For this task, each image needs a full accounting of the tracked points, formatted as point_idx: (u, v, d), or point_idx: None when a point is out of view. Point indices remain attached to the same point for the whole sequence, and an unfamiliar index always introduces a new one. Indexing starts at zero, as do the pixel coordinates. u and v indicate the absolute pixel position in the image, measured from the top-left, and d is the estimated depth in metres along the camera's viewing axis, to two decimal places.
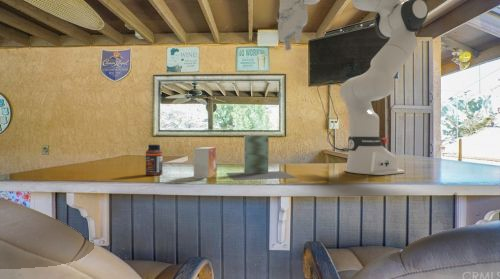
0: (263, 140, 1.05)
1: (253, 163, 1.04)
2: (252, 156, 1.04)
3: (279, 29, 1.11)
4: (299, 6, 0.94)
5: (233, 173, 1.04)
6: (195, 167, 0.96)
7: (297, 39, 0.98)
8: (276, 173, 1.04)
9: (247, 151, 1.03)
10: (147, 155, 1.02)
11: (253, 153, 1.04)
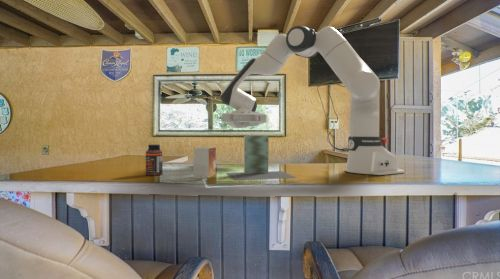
0: (263, 140, 1.05)
1: (253, 163, 1.04)
2: (252, 156, 1.04)
3: (260, 123, 1.28)
4: None
5: (233, 173, 1.04)
6: (195, 167, 0.96)
7: (237, 117, 1.17)
8: (276, 173, 1.04)
9: (247, 151, 1.03)
10: (147, 155, 1.02)
11: (253, 153, 1.04)
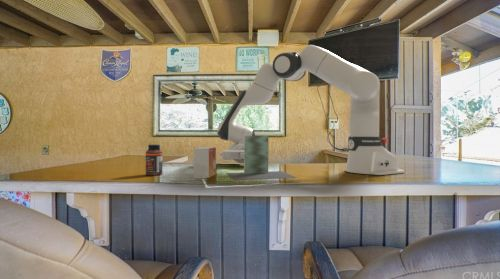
0: (263, 140, 1.05)
1: (253, 163, 1.04)
2: (252, 156, 1.04)
3: None
4: None
5: (233, 173, 1.04)
6: (195, 167, 0.96)
7: None
8: (276, 173, 1.04)
9: (247, 151, 1.03)
10: (147, 155, 1.02)
11: (253, 153, 1.04)
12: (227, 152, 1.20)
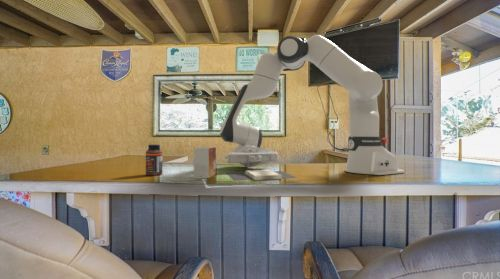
0: None
1: None
2: None
3: None
4: None
5: (233, 173, 1.04)
6: (195, 167, 0.96)
7: (253, 160, 1.04)
8: None
9: None
10: (147, 155, 1.02)
11: None
12: (233, 155, 1.06)
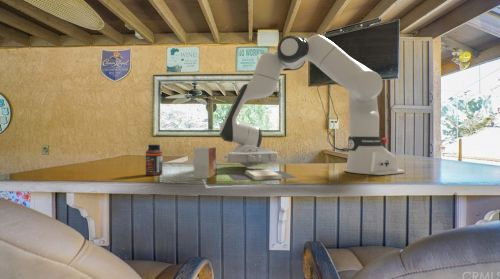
0: None
1: None
2: None
3: None
4: None
5: (233, 173, 1.04)
6: (195, 167, 0.96)
7: (253, 159, 1.03)
8: None
9: None
10: (147, 155, 1.02)
11: None
12: (233, 154, 1.06)
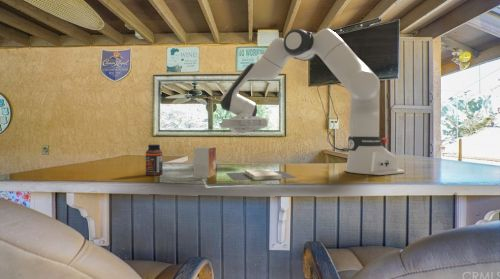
0: None
1: None
2: None
3: (261, 127, 1.28)
4: None
5: (233, 173, 1.04)
6: (195, 167, 0.96)
7: (244, 123, 1.17)
8: None
9: None
10: (147, 155, 1.02)
11: None
12: (227, 120, 1.20)
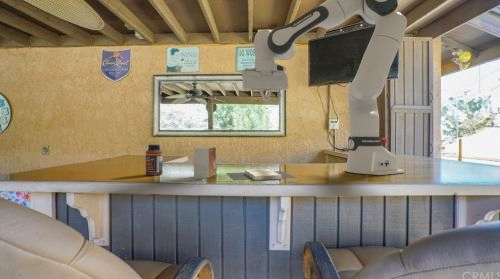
0: None
1: None
2: None
3: None
4: (243, 77, 1.22)
5: (233, 173, 1.04)
6: (195, 167, 0.96)
7: (262, 98, 1.23)
8: None
9: None
10: (147, 155, 1.02)
11: None
12: (248, 88, 1.20)
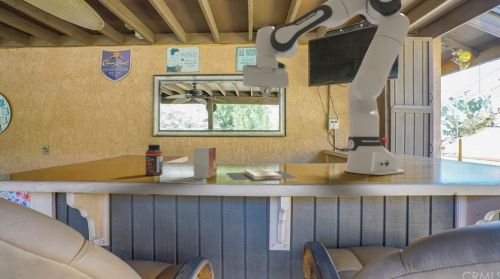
0: None
1: None
2: None
3: None
4: (244, 73, 1.21)
5: (233, 173, 1.04)
6: (195, 167, 0.96)
7: (262, 95, 1.23)
8: None
9: None
10: (147, 155, 1.02)
11: None
12: (248, 85, 1.19)
